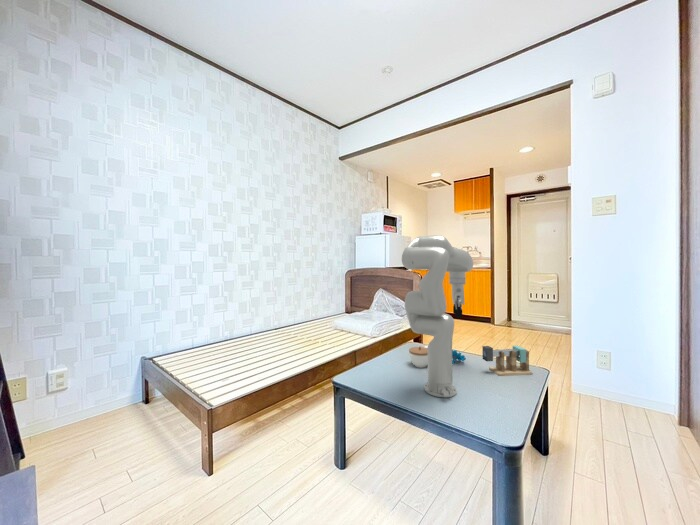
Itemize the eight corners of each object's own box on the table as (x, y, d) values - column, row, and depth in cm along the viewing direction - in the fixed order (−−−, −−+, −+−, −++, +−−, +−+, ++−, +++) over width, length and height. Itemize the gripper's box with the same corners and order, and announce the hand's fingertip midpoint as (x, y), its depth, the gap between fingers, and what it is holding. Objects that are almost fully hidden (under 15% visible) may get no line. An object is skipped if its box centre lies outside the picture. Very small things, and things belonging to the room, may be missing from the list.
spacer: (526, 362, 132) (526, 349, 132) (521, 362, 132) (520, 349, 131) (517, 358, 138) (517, 345, 138) (512, 358, 137) (512, 345, 137)
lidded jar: (408, 368, 141) (408, 349, 140) (410, 360, 151) (410, 342, 151) (430, 370, 137) (430, 350, 137) (431, 362, 148) (431, 344, 148)
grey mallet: (527, 359, 133) (527, 346, 133) (486, 361, 131) (486, 348, 131) (522, 357, 137) (522, 344, 136) (482, 358, 135) (482, 346, 135)
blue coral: (469, 360, 145) (459, 348, 142) (466, 370, 142) (455, 359, 139) (451, 357, 154) (441, 346, 151) (447, 367, 151) (437, 356, 148)
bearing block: (532, 374, 131) (532, 352, 131) (499, 375, 130) (498, 353, 130) (520, 367, 139) (520, 347, 139) (489, 369, 138) (488, 348, 138)
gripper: (467, 282, 133) (468, 319, 133) (463, 280, 150) (463, 312, 150) (450, 282, 135) (451, 318, 135) (448, 279, 152) (448, 312, 152)
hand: (457, 315), depth 142 cm, fingers open, 9 cm apart
